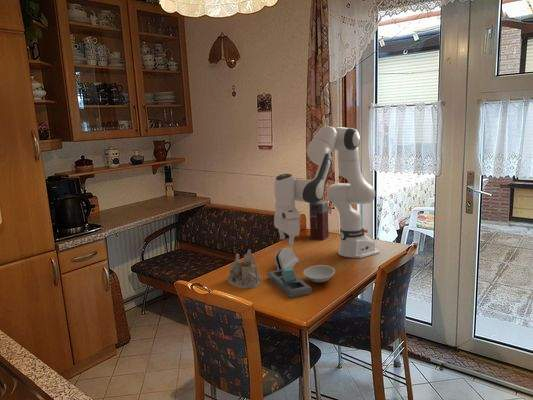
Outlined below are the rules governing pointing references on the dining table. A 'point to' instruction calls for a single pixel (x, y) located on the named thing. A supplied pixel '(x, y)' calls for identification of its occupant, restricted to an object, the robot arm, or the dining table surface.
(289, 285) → the grey slotted board
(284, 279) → the square peg
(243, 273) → the ceramic cottage
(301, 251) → the dining table surface
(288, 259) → the white arch segment
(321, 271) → the dish
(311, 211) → the dark brown tall piece
